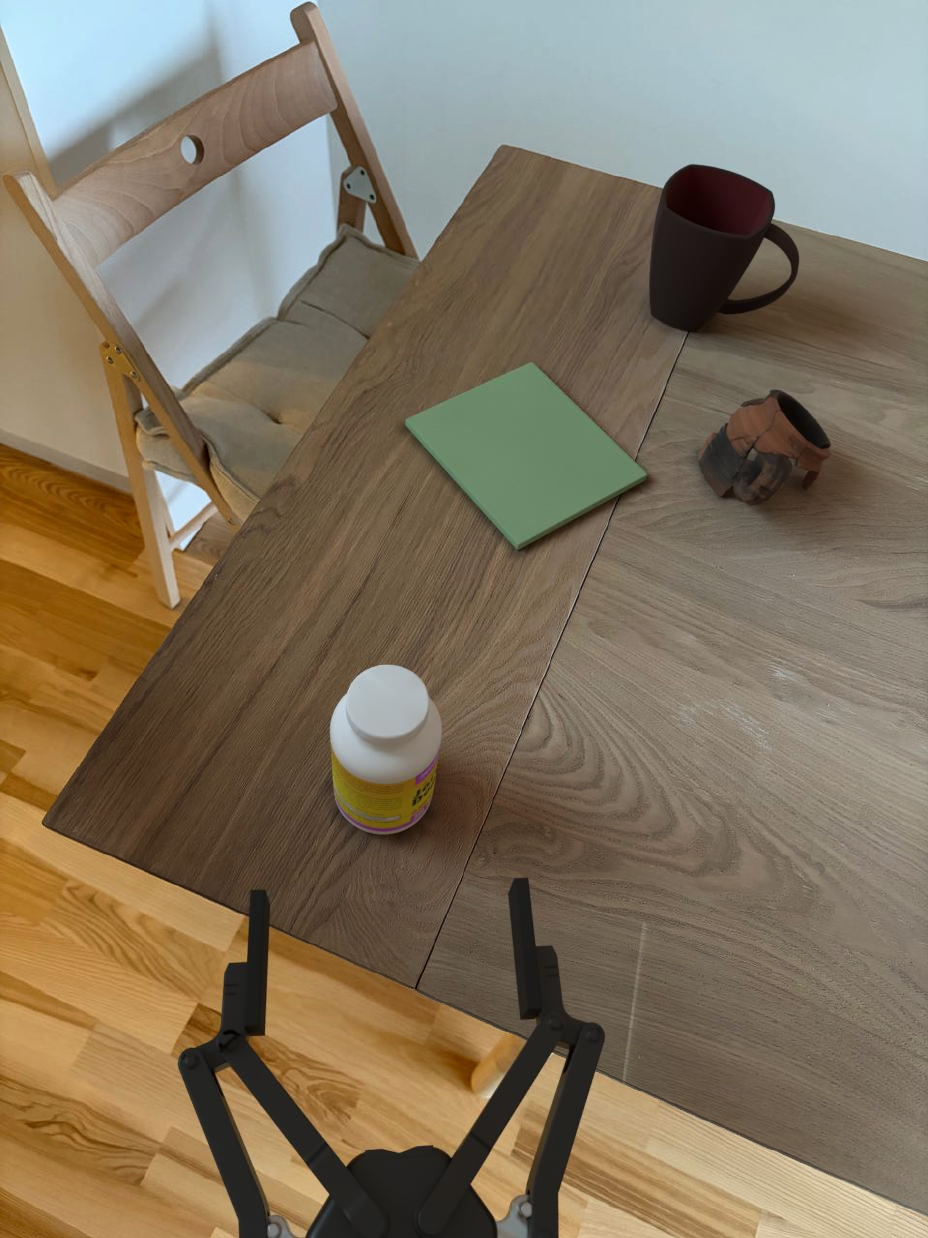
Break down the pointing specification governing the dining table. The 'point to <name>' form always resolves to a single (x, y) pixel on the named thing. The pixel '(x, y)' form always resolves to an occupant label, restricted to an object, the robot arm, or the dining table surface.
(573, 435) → the green mat
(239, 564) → the dining table surface
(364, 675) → the supplement bottle
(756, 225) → the mug
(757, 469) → the pottery mug
